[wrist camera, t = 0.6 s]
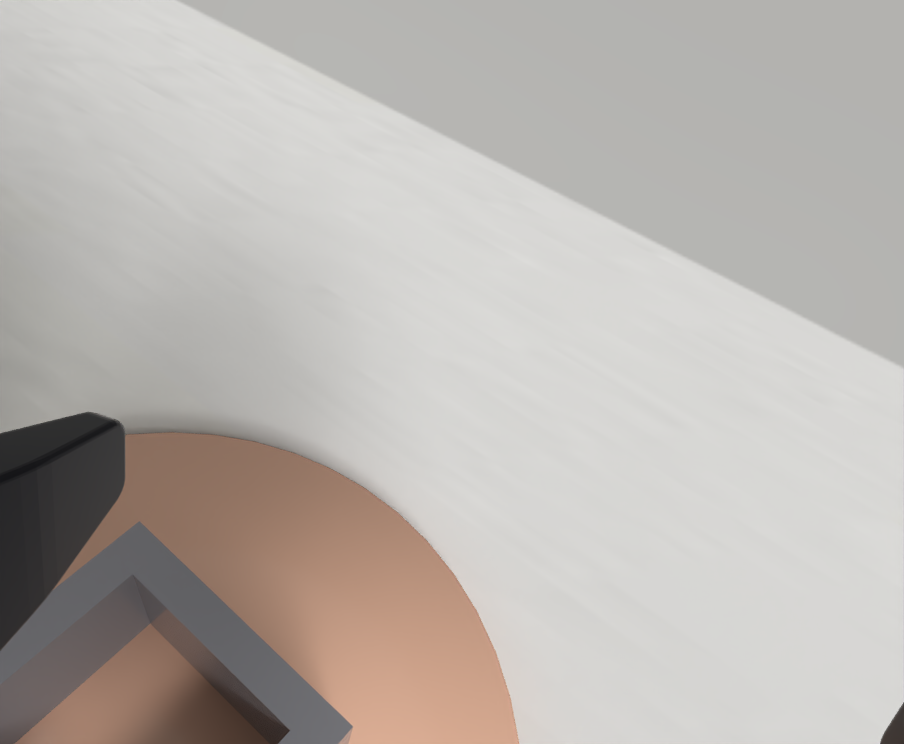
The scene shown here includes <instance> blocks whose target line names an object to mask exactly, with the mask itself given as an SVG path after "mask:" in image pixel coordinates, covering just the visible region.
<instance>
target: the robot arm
mask: <svg viewBox="0 0 904 744" xmlns="http://www.w3.org/2000/svg"><path fill="white" fill-rule="evenodd" d="M124 483H125V429H124V427H123V425H122V423H120V422H119V421H118V420H115V419H112V418H109V417H106V416H103V415H100V414H97V413H92V412H86V413H81V414H77V415H73V416H69V417H65V418H61V419H57V420H53V421H49V422H45V423H41V424H36V425H32V426H28V427H24V428H20V429H16V430H12V431H8V432H4V433H0V651H1V650H2V649H3V647H4V646H5V645H6V644H7V643H8V642H9V641H10V640H11V638H12V637H13V636H14V635H15V634H16V633H17V632H18V631H19V629H20V628H21V627H22V626H23V625H24V624H25V623H26V622H27V620H28V619H29V618H30V617H31V616H32V615H33V614H34V612H35V611H36V610H37V609H38V608H39V606H40V605H41V604H42V603H43V602H44V601H45V599H46V598H47V597H48V595H49V594H50V593H51V591H52V590H53V589H54V588H55V586H56V585H57V584H58V582H59V581H60V579H61V578H62V577H63V575H64V574H65V572H66V571H67V570H68V568H69V567H70V565H71V564H72V563H73V561H74V560H75V558H76V557H77V556H78V554H79V553H80V552H81V550H82V549H83V547H84V546H85V545H86V543H87V542H88V540H89V539H90V538H91V536H92V535H93V533H94V532H95V531H96V529H97V528H98V526H99V525H100V524H101V522H102V521H103V519H104V518H105V517H106V515H107V514H108V512H109V511H110V510H111V508H112V507H113V505H114V504H115V503H116V501H117V500H118V498H119V496H120V494H121V492H122V490H123V487H124ZM880 744H904V703H903V704H902V706H901V707H900V709H899V711H898V712H897V714H896V715H895V717H894V718H893V720H892V721H891V723H890V724H889V726H888V728H887V729H886V731H885V733H884V734H883V737H882V739H881V742H880Z"/></svg>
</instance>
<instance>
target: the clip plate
mask: <svg viewBox="0 0 904 744" xmlns="http://www.w3.org/2000/svg"><path fill="white" fill-rule="evenodd" d="M0 744H519V740H518V735H517V729H516V724H515V719H514V714H513V709H512V704H511V698H510V695H509V692H508V689H507V686H506V682H505V679H504V676H503V673H502V670H501V667H500V664H499V661H498V658H497V654H496V652H495V649H494V647H493V645H492V643H491V641H490V639H489V636H488V634H487V632H486V630H485V628H484V626H483V623H482V621H481V619H480V617H479V615H478V613H477V611H476V609H475V607H474V606H473V604H472V602H471V601H470V599H469V598H468V596H467V594H466V593H465V591H464V590H463V588H462V586H461V585H460V583H459V582H458V580H457V578H456V577H455V575H454V574H453V572H452V571H451V570H450V569H449V567H448V566H447V565H446V564H445V562H444V561H443V560H442V559H441V557H440V556H439V555H438V554H437V553H436V551H435V550H434V549H433V548H432V546H431V545H430V544H429V543H428V541H427V540H426V539H425V538H424V537H422V536H421V535H420V534H419V533H418V532H417V531H416V530H415V529H414V528H413V527H412V526H411V525H410V524H409V523H408V522H407V521H406V520H405V519H404V518H403V517H402V516H401V515H400V514H399V513H397V512H396V511H395V510H393V509H392V508H391V507H389V506H388V505H387V504H385V503H384V502H383V501H381V500H380V499H379V498H377V497H376V496H375V495H373V494H372V493H371V492H369V491H368V490H367V489H365V488H364V487H362V486H360V485H358V484H357V483H355V482H353V481H351V480H350V479H348V478H346V477H344V476H343V475H341V474H339V473H337V472H336V471H334V470H332V469H330V468H328V467H326V466H323V465H321V464H319V463H316V462H314V461H312V460H309V459H307V458H304V457H302V456H300V455H297V454H295V453H292V452H289V451H285V450H282V449H278V448H275V447H271V446H268V445H265V444H261V443H258V442H254V441H248V440H242V439H236V438H230V437H224V436H218V435H210V434H193V433H175V432H167V433H148V434H128V435H125V483H124V487H123V490H122V492H121V494H120V496H119V498H118V500H117V501H116V503H115V504H114V505H113V507H112V508H111V510H110V511H109V512H108V514H107V515H106V517H105V518H104V519H103V521H102V522H101V524H100V525H99V526H98V528H97V529H96V531H95V532H94V533H93V535H92V536H91V538H90V539H89V540H88V542H87V543H86V545H85V546H84V547H83V549H82V550H81V552H80V553H79V554H78V556H77V557H76V558H75V560H74V561H73V563H72V564H71V565H70V567H69V568H68V570H67V571H66V572H65V574H64V575H63V577H62V578H61V579H60V581H59V582H58V584H57V585H56V586H55V588H54V589H53V590H52V591H51V593H50V594H49V595H48V597H47V598H46V599H45V601H44V602H43V603H42V604H41V605H40V606H39V608H38V609H37V610H36V611H35V612H34V614H33V615H32V616H31V617H30V618H29V619H28V620H27V622H26V623H25V624H24V625H23V626H22V627H21V628H20V629H19V631H18V632H17V633H16V634H15V635H14V636H13V637H12V638H11V640H10V641H9V642H8V643H7V644H6V645H5V646H4V647H3V649H2V650H1V651H0Z"/></svg>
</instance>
